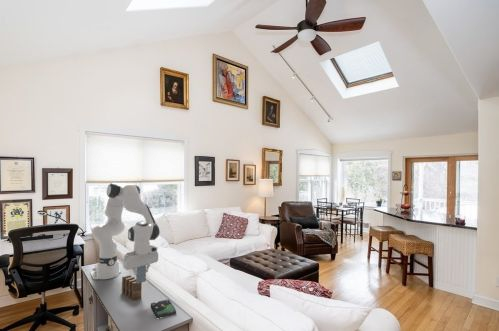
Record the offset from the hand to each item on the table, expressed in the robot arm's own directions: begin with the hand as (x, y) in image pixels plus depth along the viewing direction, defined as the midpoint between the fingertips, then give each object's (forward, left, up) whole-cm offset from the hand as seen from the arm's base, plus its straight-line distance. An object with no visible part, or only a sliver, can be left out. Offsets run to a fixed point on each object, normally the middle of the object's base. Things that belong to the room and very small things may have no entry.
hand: (141, 273), depth 158 cm
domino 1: (-18, 0, -16) cm, 24 cm away
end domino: (0, 0, -5) cm, 5 cm away
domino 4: (-5, 0, -16) cm, 17 cm away
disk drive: (+20, +3, -17) cm, 26 cm away
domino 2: (-13, 0, -16) cm, 21 cm away
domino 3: (-9, 0, -16) cm, 18 cm away
